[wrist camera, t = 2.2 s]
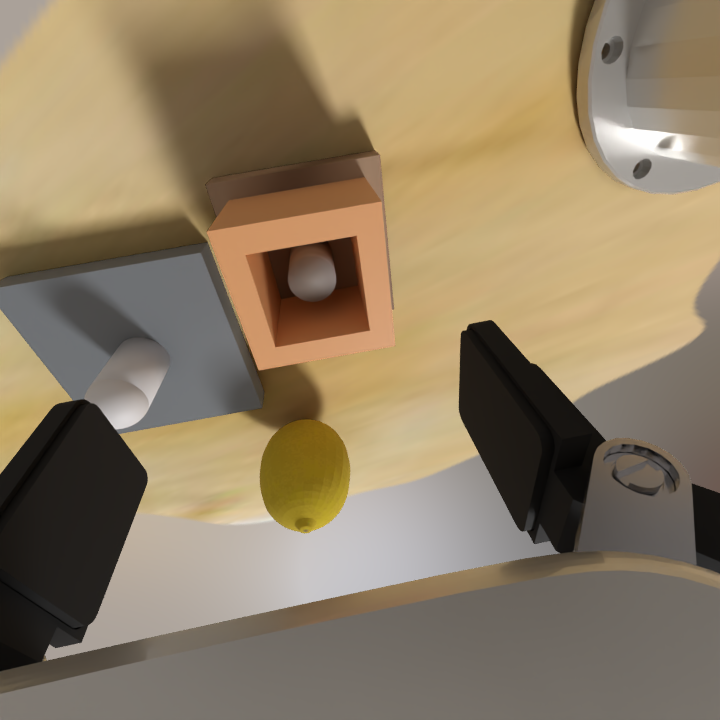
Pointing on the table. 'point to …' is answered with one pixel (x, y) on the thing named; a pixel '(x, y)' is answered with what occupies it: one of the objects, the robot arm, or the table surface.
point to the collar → (293, 315)
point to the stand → (317, 260)
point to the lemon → (304, 475)
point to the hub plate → (139, 336)
